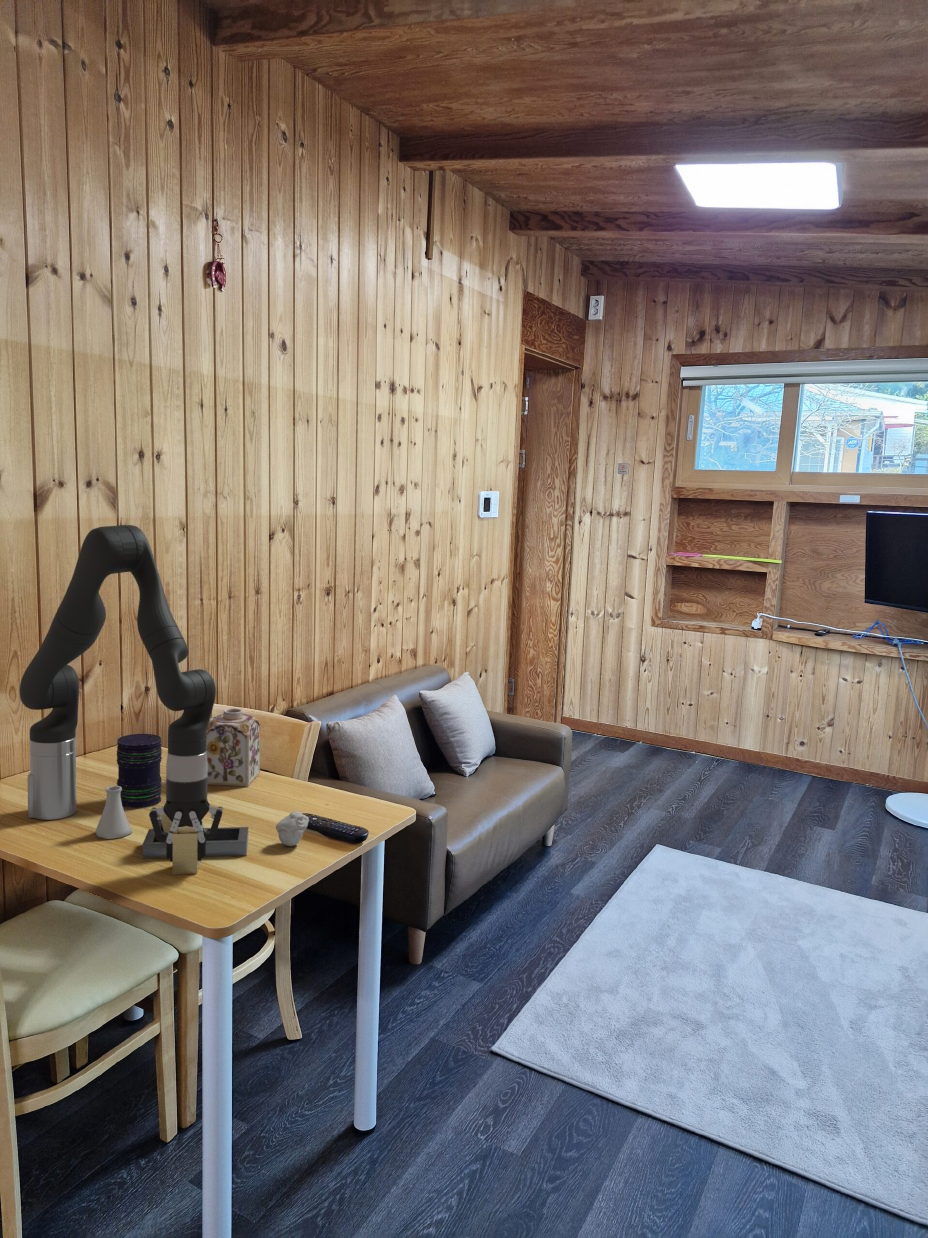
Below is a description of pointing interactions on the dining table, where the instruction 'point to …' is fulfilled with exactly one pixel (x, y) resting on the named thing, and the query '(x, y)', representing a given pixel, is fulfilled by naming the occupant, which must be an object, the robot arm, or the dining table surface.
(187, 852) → the beige wooden block
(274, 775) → the dining table surface
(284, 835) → the frog figurine
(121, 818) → the flask
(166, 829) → the block
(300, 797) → the dining table surface
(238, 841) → the grey slotted tray
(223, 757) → the decorative jar
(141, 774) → the storage jar
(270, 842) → the dining table surface
